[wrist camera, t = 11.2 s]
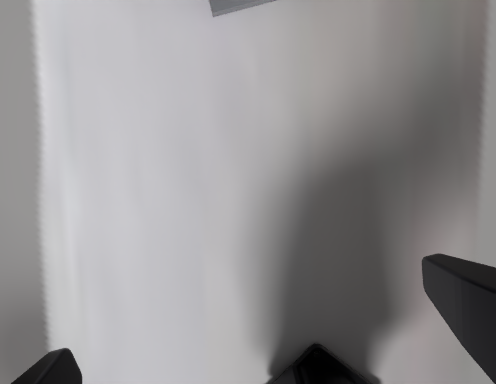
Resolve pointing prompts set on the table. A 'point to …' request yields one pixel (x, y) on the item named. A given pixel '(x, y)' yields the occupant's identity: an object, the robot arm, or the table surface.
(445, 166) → the table surface
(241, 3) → the panel
